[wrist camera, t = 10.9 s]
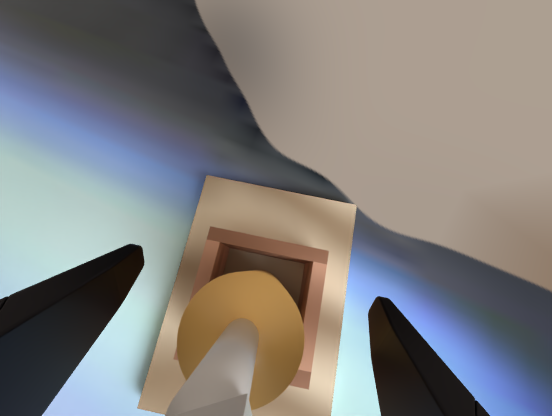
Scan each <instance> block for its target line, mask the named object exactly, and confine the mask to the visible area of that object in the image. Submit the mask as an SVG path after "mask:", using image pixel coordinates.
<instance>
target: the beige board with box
mask: <svg viewBox="0 0 552 416" xmlns="http://www.w3.org/2000/svg"><path fill="white" fill-rule="evenodd" d="M356 206H357V205H353V204H348V203H343V202H339V201H334V200H329V199H324V198H319V197H314V196H309V195H304V194H299V193H294V192H289V191H284V190H279V189H274V188H269V187H264V186H259V185H254V184H249V183H244V182H239V181H234V180H229V179H224V178H219V177H214V176H209V175H207V176H206V179H205V183H204V186H203V189H202V193H201V196H200V199H199V203H198V206H197V210H196V213H195V216H194V220H193V223H192V226H191V230H190V233H189V236H188V240H187V243H186V246H185V250H184V253H183V256H182V260H181V263H180V267H179V270H178V273H177V277H176V280H175V283H174V287H173V290H172V293H171V297H170V300H169V303H168V307H167V310H166V313H165V317H164V320H163V324H162V327H161V330H160V334H159V337H158V340H157V344H156V347H155V350H154V354H153V357H152V360H151V364H150V367H149V370H148V374H147V377H146V381H145V384H144V387H143V391H142V394H141V397H140V401H139V404H138V407H137V408H138V409H143V410H147V411H151V412H156V413H160V414H164V415H166V412H167V409H168V407H169V405H170V403H171V401H172V400H173V398H174V397H175V396H176V394H177V393H178V391H179V390H180V389H181V387H182V386H183V385H184V383H185V382H186V379H185V377H184V375H183V373H182V371H181V368H180V365H179V360H178V356H177V334H178V328H179V324H180V321H181V318H182V315H183V313H184V311H185V309H186V307H187V305H188V304H189V302H190V301H191V299H192V298H193V297H194V295H195V294H196V293H197V292H198V291H199V290H200V289H201V288H202V287H203V286H205V285H206V284H207V283H209V282H210V281H212V280H214V279H216V278H218V277H220V276H222V275H225V274H228V273H234V272H242V271H252V270H264V271H267V272H270V273H272V274H273V275H274V276H275V277H277V279H278V280H279V281H280V282H281V284H282V285H283V286H284V288H285V289H286V290H287V292H288V293H289V294H290V296H291V297H292V299H293V300H294V302H295V303H296V305H297V307H298V310H299V312H300V315H301V318H302V321H303V327H304V336H305V340H304V351H303V357H302V360H301V364H300V366H299V369H298V371H297V373H296V375H295V377H294V379H293V380H292V382H291V383H290V385H289V386H288V387H287V388H286V390H285V391H284V392H283V393H282V394H281V395H280V396H278V397H277V398H276V399H275V400H273V401H272V402H270V403H268V404H267V405H265V406H263V407H260V408H257V409H254V410H251V412H252V416H331V409H332V401H333V393H334V385H335V377H336V369H337V360H338V352H339V344H340V336H341V328H342V320H343V312H344V303H345V295H346V287H347V279H348V271H349V263H350V255H351V246H352V238H353V230H354V222H355V214H356Z"/></svg>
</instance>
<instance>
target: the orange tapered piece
mask: <svg viewBox="0 0 552 416" xmlns="http://www.w3.org/2000/svg"><path fill="white" fill-rule="evenodd" d="M304 340H305V336H304V327H303V321H302V318H301V315H300V312H299V310H298V307H297V305H296V303H295V302H294V300H293V299H292V297H291V296H290V294H289V293H288V292H287V290H286V289H285V288H284V286H283V285H282V284H281V282H280V281H279V280H278V279H277V277H275V276H274V275H273V274H272V273H270V272H267V271H264V270H252V271H242V272H234V273H228V274H225V275H222V276H220V277H218V278H216V279H214V280H212V281H210V282H209V283H207V284H206V285H205V286H203V287H202V288H201V289H200V290H199V291H198V292H197V293H196V294H195V295H194V297H193V298H192V299H191V301H190V302H189V304H188V305H187V307H186V309H185V311H184V313H183V315H182V318H181V321H180V324H179V328H178V334H177V356H178V360H179V365H180V368H181V371H182V373H183V375H184V377H185V379H186V382H185V383H184V385H183V386H182V387H181V389H180V390H179V391H178V393H177V394H176V396H175V397H174V398H173V400H172V401H171V403H170V405H169V407H168V409H167V412H166V415H165V416H252V412H251V410H254V409H257V408H260V407H263V406H265V405H267V404H268V403H270V402H272V401H273V400H275V399H276V398H277V397H278V396H280V395H281V394H282V393H283V392H284V391H285V390H286V388H287V387H288V386H289V385H290V383H291V382H292V380H293V379H294V377H295V375H296V373H297V371H298V369H299V366H300V364H301V360H302V357H303V351H304Z"/></svg>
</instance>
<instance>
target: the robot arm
mask: <svg viewBox="0 0 552 416" xmlns="http://www.w3.org/2000/svg"><path fill="white" fill-rule="evenodd" d="M143 266H144V256H143V249H142V247H141V246H140V245H135V244H128V245H126V246H123V247H121V248H119V249H116V250H114V251H112V252H109V253H107V254H105V255H102V256H100V257H98V258H95V259H93V260H91V261H88V262H86V263H84V264H81V265H79V266H77V267H74V268H72V269H70V270H67V271H65V272H63V273H60V274H58V275H56V276H53V277H51V278H49V279H46V280H44V281H42V282H39V283H37V284H35V285H32V286H30V287H28V288H25V289H23V290H21V291H18V292H16V293H14V294H11V295H10V296H9V297H4V298H2V299H0V416H42V415H43V413H44V412H45V410H46V409H47V408H48V406H49V405H50V403H51V402H52V401H53V399H54V398H55V396H56V395H57V394H58V392H59V391H60V389H61V388H62V387H63V385H64V384H65V383H66V381H67V380H68V378H69V377H70V376H71V374H72V373H73V371H74V370H75V369H76V367H77V366H78V364H79V363H80V362H81V360H82V359H83V358H84V356H85V355H86V353H87V352H88V351H89V349H90V348H91V346H92V345H93V344H94V342H95V341H96V339H97V338H98V337H99V335H100V334H101V332H102V331H103V330H104V328H105V327H106V326H107V324H108V323H109V321H110V320H111V319H112V317H113V316H114V314H115V313H116V312H117V310H118V309H119V307H120V306H121V304H122V303H123V301H124V300H125V298H126V296H127V295H128V293H129V291H130V289H131V288H132V286H133V284H134V282H135V281H136V279H137V277H138V275H139V274H140V272H141V270H142V269H143ZM368 320H369V335H370V349H371V360H372V366H373V372H374V378H375V383H376V389H377V395H378V400H379V406H380V412H381V416H490V415H489V414H488V413H487V412H486V410H485V409H484V408H483V407H482V406H481V405H480V403H479V402H478V401H476V400H475V398H474V397H473V395H472V394H471V393H470V392H469V391H468V390H467V388H466V387H465V386H464V385H463V384H462V383H461V381H460V380H459V379H458V378H457V377H456V376H455V375H454V373H453V372H452V371H451V370H450V369H449V368H448V366H447V365H446V364H445V363H444V362H443V361H442V359H441V358H440V357H439V356H438V355H437V354H436V352H435V351H434V350H433V349H432V348H431V347H430V345H429V344H428V343H427V342H426V341H425V340H424V338H423V337H422V336H421V335H420V334H419V333H418V331H417V330H416V329H415V328H414V327H413V326H412V324H411V323H410V322H409V321H408V320H407V319H406V317H405V316H404V315H403V314H402V313H401V312H400V311H399V309H398V308H397V307H396V306H395V305H394V304H393V302H392V301H391V300H390V299H388V298H385V297H380V296H378V297H376V299H375V300H374V302H373V304H372V306H371V308H370V309H369V313H368Z"/></svg>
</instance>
